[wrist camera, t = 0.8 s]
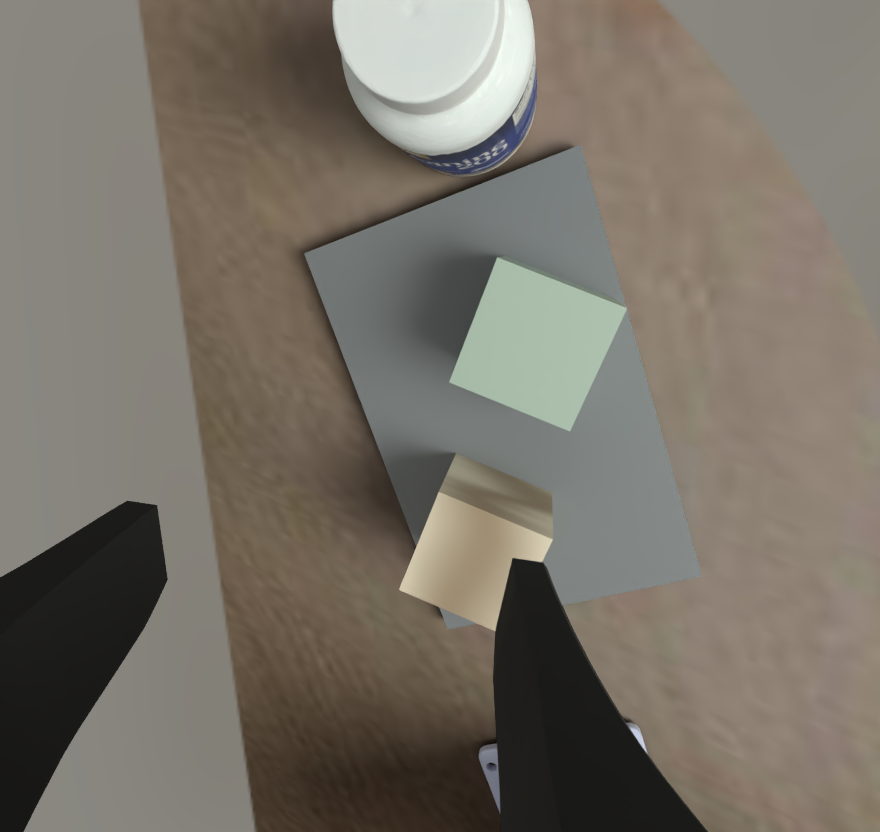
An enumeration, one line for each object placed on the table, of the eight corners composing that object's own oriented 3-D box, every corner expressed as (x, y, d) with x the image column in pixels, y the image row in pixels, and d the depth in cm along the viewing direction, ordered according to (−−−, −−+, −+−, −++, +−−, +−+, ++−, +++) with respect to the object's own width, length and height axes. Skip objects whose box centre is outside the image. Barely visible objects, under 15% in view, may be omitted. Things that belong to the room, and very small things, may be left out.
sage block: (614, 298, 23) (627, 308, 20) (566, 403, 25) (569, 431, 21) (505, 256, 24) (497, 257, 20) (463, 362, 25) (448, 382, 21)
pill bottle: (391, 172, 24) (297, 125, 15) (404, 19, 23) (307, -135, 14) (526, 186, 24) (512, 145, 14) (548, 29, 22) (549, -127, 13)
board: (697, 566, 27) (702, 575, 26) (450, 619, 29) (447, 629, 29) (579, 148, 23) (580, 144, 22) (311, 253, 26) (304, 253, 25)
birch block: (552, 492, 26) (553, 539, 22) (512, 576, 27) (506, 635, 23) (456, 453, 26) (438, 491, 22) (421, 537, 28) (399, 589, 23)
